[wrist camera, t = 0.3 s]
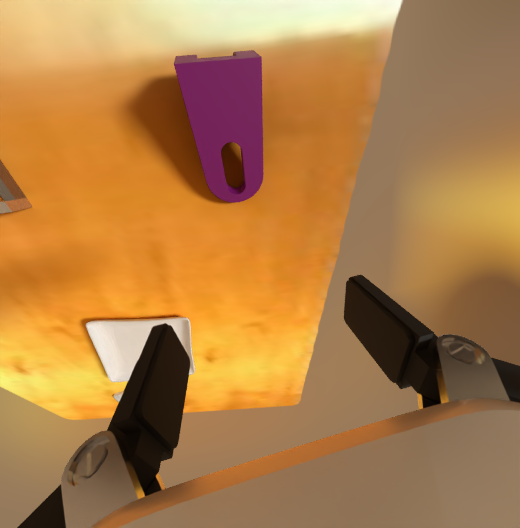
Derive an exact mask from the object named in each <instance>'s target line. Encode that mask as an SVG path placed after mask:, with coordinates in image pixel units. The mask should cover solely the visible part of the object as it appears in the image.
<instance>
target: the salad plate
mask: <svg viewBox="0 0 520 528" xmlns="http://www.w3.org/2000/svg"><path fill="white" fill-rule="evenodd" d="M164 323H166V324H168V325H171V326H172V327H173V329H174V331H175V333H176V334H177V336H178V338H179V340H180V342H181V343H182V345H183V347H184V349H185V351H186V352H187V354H188V356H189V358H190V370H189V375H191V374H194V372H195V365H194V360H193V354H192V346H191V326H190V320H189V319H188V318H186V317H170V318H154V319H123V320H94V321H90V322H87V323H86V328H87V331H88V333H89V335H90V338H91V340H92V342H93V344H94V346H95V349H96V351H97V353H98V355H99V357H100V359H101V362H102V364H103V366H104V369H105V371H106V373H107V376H108V378H109V380H110V381H112V382H123V381H129V378H130V376H131V374H132V371H133V369H134V367H135V364H136V362H137V361H138V359H139V357H140V355H141V353H142V350H143V348H144V346H145V343H146V341H147V338H148V336H149V334H150V331H151V329H152V327H153V326H156V325H160V324H164Z"/></svg>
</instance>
